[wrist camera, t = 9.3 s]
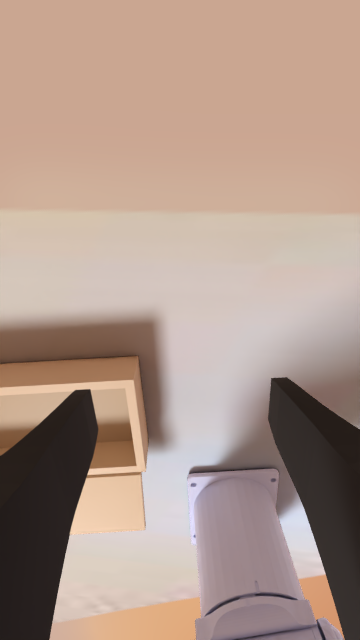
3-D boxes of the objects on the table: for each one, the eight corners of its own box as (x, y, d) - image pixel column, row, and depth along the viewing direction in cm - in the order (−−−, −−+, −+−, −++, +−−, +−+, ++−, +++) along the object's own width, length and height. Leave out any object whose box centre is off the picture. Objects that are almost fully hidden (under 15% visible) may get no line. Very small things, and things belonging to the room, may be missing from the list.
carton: (148, 440, 25) (145, 471, 23) (-47, 452, 25) (-74, 484, 22) (138, 355, 22) (133, 379, 19) (-86, 368, 22) (-122, 394, 19)
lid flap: (140, 475, 23) (141, 469, 23) (-68, 487, 22) (-62, 482, 23) (144, 530, 23) (145, 523, 24) (-58, 542, 23) (-52, 535, 24)
